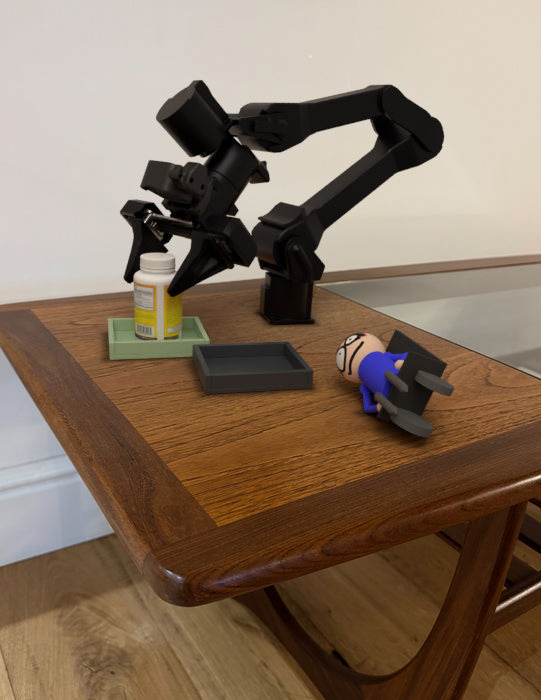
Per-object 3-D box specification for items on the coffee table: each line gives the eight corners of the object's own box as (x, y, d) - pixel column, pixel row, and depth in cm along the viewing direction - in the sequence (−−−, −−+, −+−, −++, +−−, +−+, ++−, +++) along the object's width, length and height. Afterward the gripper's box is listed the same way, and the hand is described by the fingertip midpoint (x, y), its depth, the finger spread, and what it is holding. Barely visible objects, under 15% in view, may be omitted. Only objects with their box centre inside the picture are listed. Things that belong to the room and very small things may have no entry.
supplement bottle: (181, 333, 77) (182, 251, 73) (182, 348, 72) (183, 261, 68) (135, 332, 76) (134, 250, 72) (133, 348, 71) (131, 260, 67)
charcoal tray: (287, 357, 72) (288, 341, 72) (312, 388, 64) (313, 370, 63) (192, 361, 69) (192, 344, 69) (205, 394, 61) (205, 375, 60)
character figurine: (386, 456, 52) (328, 387, 66) (464, 444, 54) (391, 379, 67) (391, 371, 49) (329, 317, 63) (472, 361, 51) (395, 310, 65)
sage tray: (197, 331, 80) (198, 316, 79) (209, 356, 71) (210, 339, 71) (108, 333, 77) (107, 318, 76) (109, 360, 68) (109, 343, 68)
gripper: (130, 130, 74) (54, 230, 70) (245, 139, 63) (162, 258, 59) (179, 194, 83) (113, 287, 78) (288, 212, 72) (218, 321, 67)
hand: (147, 288), depth 70 cm, fingers open, 7 cm apart
